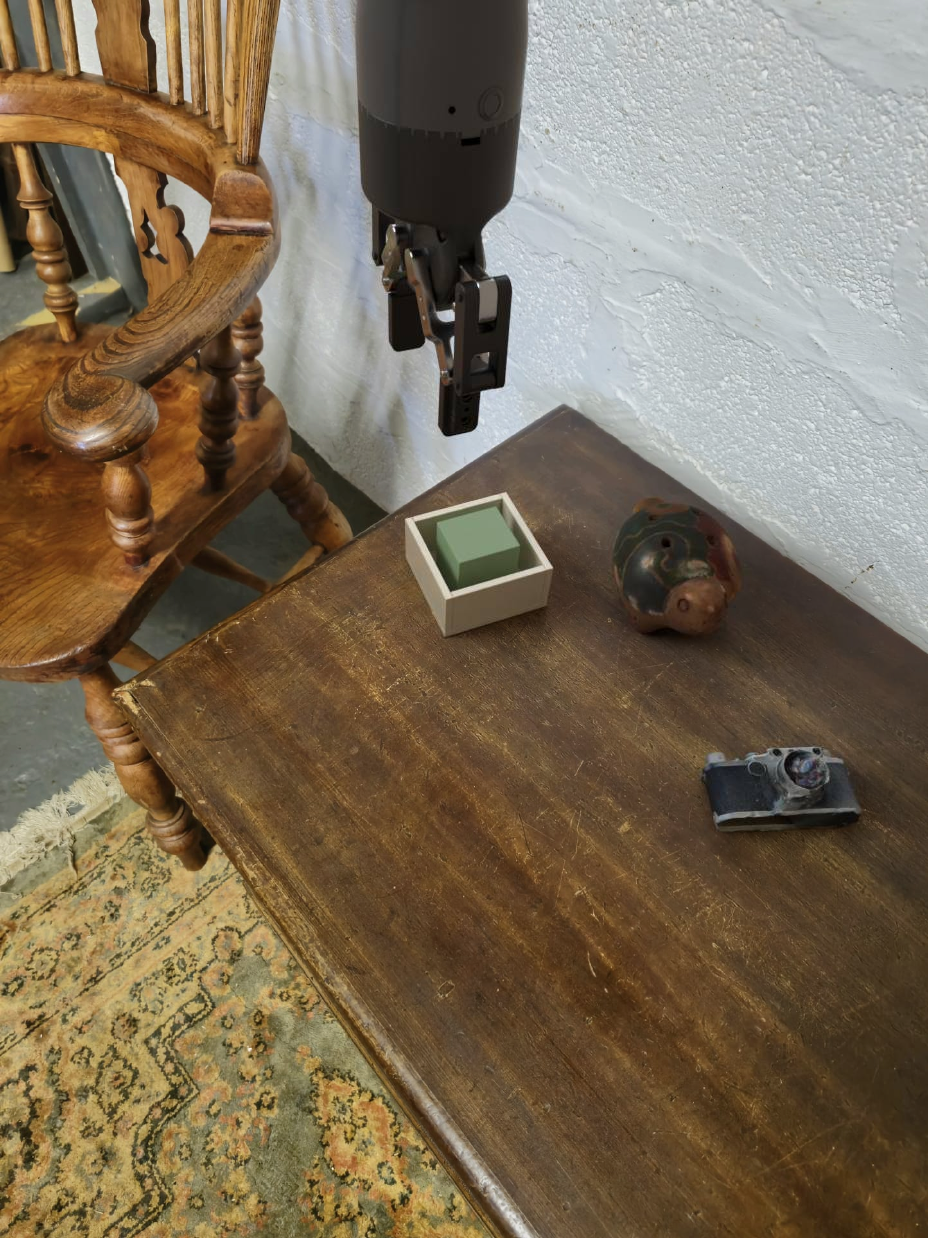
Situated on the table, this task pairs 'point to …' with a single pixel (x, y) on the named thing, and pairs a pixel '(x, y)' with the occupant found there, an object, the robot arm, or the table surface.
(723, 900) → the table surface
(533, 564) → the open square box
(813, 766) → the camera
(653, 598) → the decorative turtle
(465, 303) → the robot arm
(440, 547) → the green box
